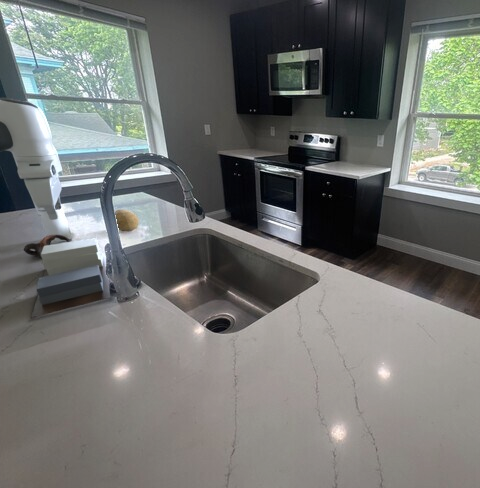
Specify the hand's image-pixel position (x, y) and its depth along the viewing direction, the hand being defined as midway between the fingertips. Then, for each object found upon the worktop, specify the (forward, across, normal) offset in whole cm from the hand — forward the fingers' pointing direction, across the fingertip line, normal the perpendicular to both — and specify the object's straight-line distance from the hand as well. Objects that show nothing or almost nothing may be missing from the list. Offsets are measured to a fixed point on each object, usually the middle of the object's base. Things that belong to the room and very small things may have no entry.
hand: (56, 213), depth 86 cm
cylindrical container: (+20, -32, -6) cm, 38 cm away
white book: (+13, 0, +1) cm, 13 cm away
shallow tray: (+19, +8, +1) cm, 21 cm away
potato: (+19, -30, +16) cm, 39 cm away
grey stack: (+18, +16, +1) cm, 24 cm away
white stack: (+18, 0, +1) cm, 18 cm away
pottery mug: (+20, -16, -7) cm, 26 cm away
